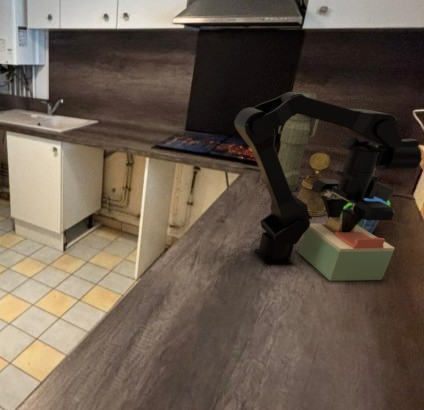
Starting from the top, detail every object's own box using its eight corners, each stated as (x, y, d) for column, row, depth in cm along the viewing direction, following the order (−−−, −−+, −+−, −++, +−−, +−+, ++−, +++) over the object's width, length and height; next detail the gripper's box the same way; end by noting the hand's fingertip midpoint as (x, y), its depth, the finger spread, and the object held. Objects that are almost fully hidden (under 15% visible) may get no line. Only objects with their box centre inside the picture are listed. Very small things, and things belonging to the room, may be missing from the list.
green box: (329, 280, 81) (339, 251, 78) (298, 252, 92) (305, 226, 89) (382, 279, 81) (393, 251, 78) (344, 252, 92) (353, 225, 89)
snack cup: (344, 240, 98) (355, 206, 94) (317, 223, 108) (327, 192, 104) (396, 237, 100) (409, 204, 96) (365, 221, 109) (376, 190, 105)
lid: (339, 251, 78) (340, 248, 78) (305, 226, 89) (306, 223, 89) (393, 251, 78) (395, 247, 78) (353, 225, 89) (354, 223, 89)
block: (335, 238, 85) (340, 223, 83) (325, 230, 88) (329, 217, 87) (351, 238, 85) (356, 223, 83) (340, 230, 88) (344, 216, 87)
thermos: (299, 194, 129) (326, 94, 116) (264, 188, 135) (285, 91, 121) (301, 187, 136) (326, 91, 122) (267, 181, 142) (288, 89, 128)
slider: (353, 248, 77) (356, 239, 77) (333, 234, 83) (336, 226, 82) (383, 248, 78) (386, 239, 77) (361, 234, 84) (364, 225, 83)
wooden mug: (323, 204, 122) (339, 152, 114) (324, 218, 111) (341, 162, 104) (294, 198, 126) (307, 148, 119) (292, 212, 115) (306, 158, 108)
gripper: (432, 183, 72) (404, 250, 78) (362, 157, 89) (343, 214, 95) (378, 183, 71) (354, 250, 78) (318, 157, 88) (303, 214, 95)
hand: (338, 230), depth 86 cm, fingers closed on block, 4 cm apart
